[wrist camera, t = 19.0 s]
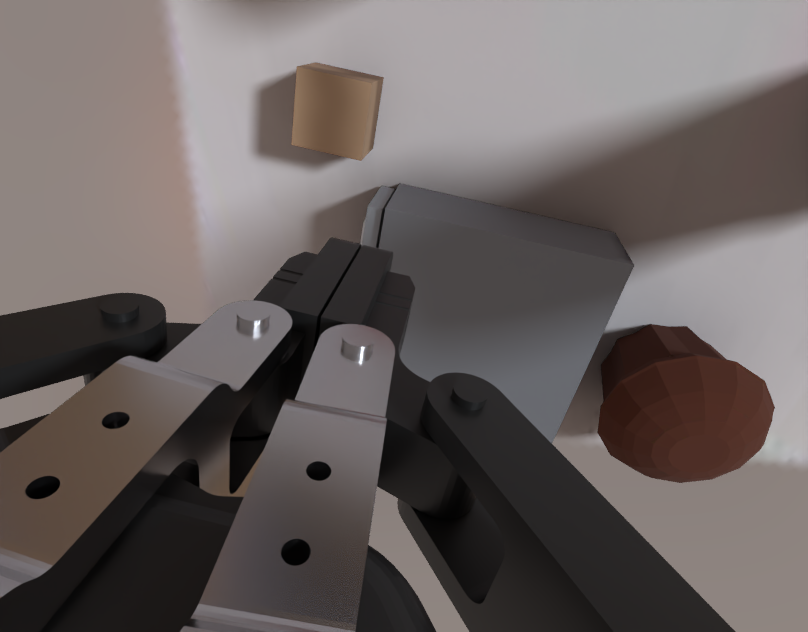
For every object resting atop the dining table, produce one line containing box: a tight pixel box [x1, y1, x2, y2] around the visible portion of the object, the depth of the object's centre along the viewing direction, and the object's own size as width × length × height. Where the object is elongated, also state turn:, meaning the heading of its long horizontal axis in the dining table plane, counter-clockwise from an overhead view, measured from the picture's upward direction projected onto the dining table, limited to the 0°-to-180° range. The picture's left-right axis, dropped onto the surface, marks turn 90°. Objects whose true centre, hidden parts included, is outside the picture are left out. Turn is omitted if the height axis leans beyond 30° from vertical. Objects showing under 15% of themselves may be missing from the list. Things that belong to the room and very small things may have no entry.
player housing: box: [379, 184, 634, 443], centre depth 40 cm, size 16×16×6 cm
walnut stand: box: [291, 63, 383, 161], centre depth 35 cm, size 5×5×4 cm
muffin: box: [598, 324, 775, 483], centre depth 39 cm, size 12×11×10 cm
